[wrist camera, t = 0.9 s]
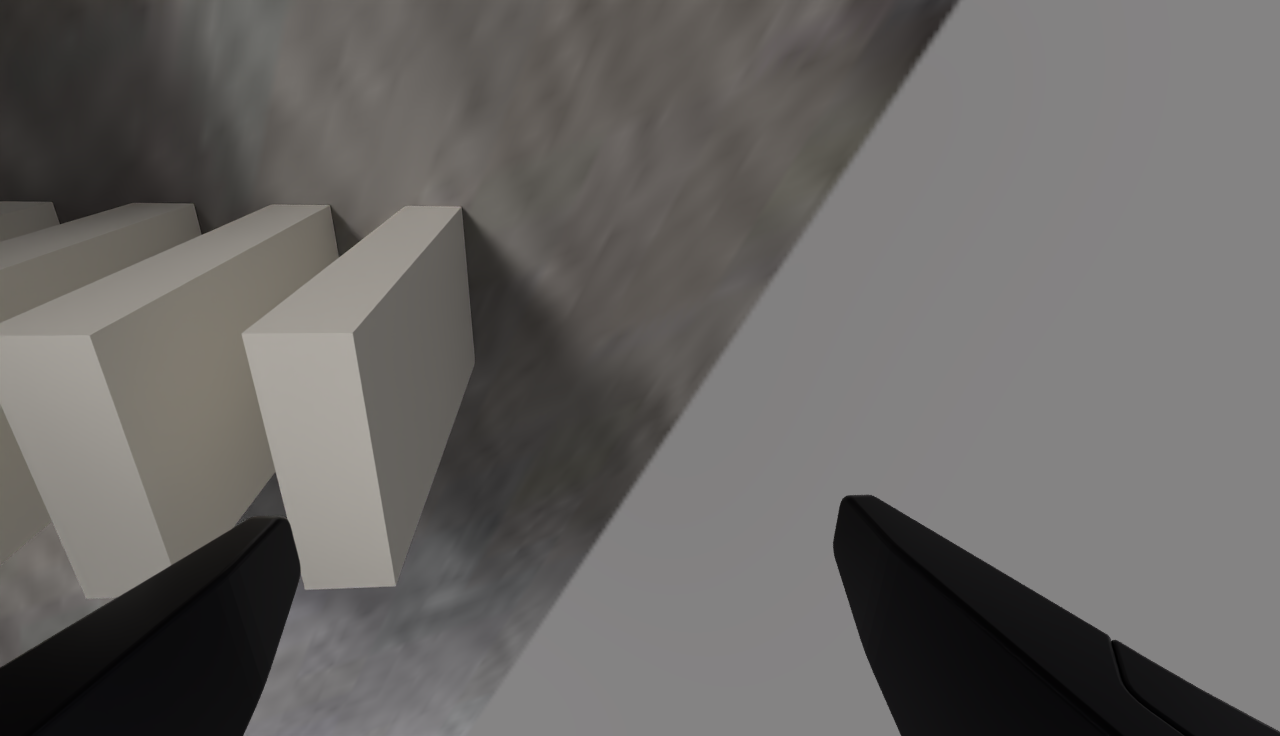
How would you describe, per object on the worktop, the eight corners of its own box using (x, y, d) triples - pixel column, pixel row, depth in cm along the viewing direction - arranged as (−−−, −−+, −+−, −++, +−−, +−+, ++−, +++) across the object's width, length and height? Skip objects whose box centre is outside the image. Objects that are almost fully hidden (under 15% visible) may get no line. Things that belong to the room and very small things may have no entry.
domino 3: (423, 363, 21) (303, 589, 12) (404, 205, 19) (239, 333, 10) (475, 362, 21) (395, 586, 12) (461, 206, 19) (352, 332, 10)
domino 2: (303, 364, 20) (84, 599, 11) (270, 204, 18) (-32, 336, 9) (357, 363, 21) (181, 595, 11) (329, 205, 18) (90, 335, 9)
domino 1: (180, 365, 20) (-149, 608, 11) (132, 202, 18) (-323, 336, 9) (235, 365, 20) (-45, 603, 11) (193, 203, 18) (-193, 336, 9)
